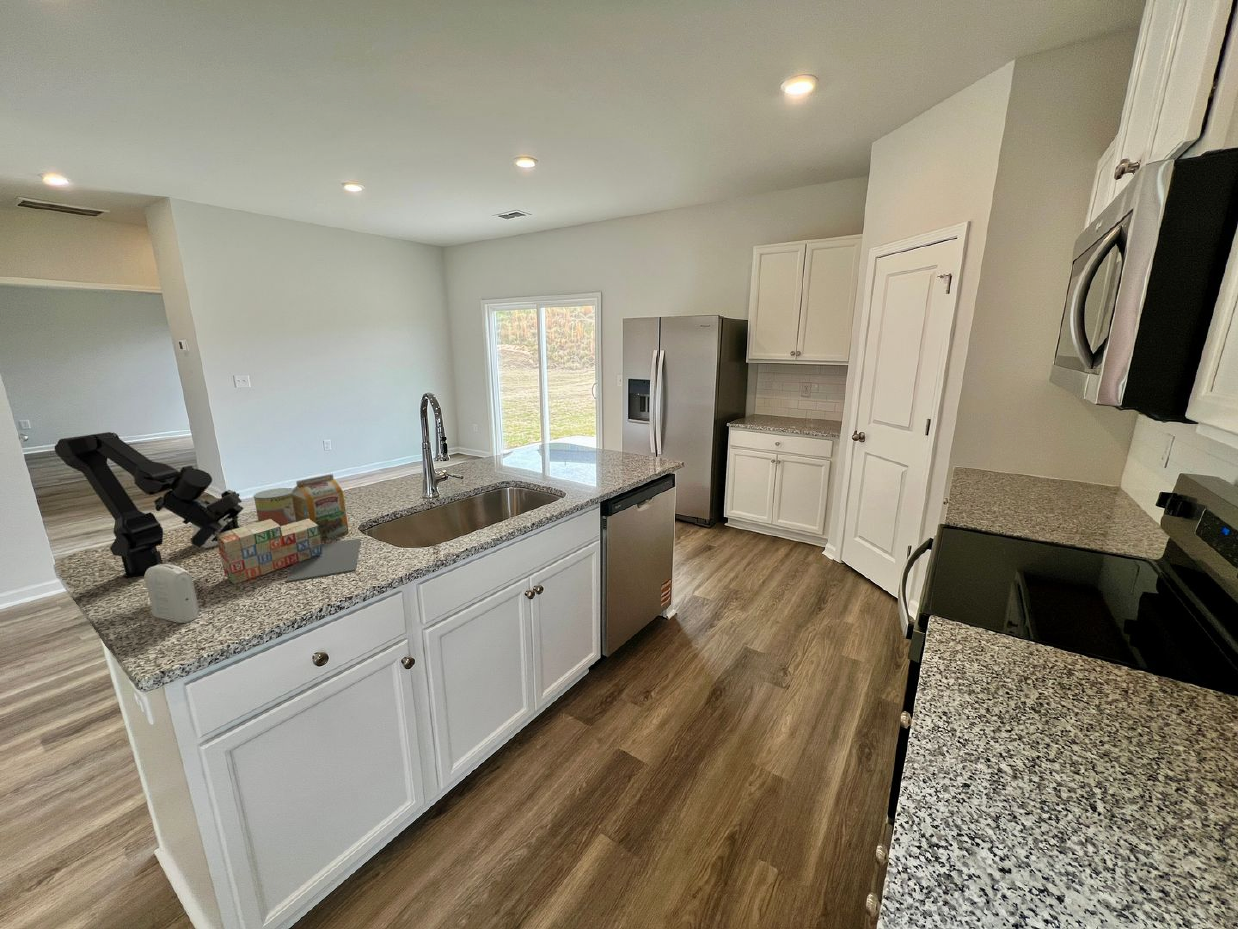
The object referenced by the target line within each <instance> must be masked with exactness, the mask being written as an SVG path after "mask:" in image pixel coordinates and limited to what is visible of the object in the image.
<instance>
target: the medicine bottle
mask: <svg viewBox="0 0 1238 929" xmlns="http://www.w3.org/2000/svg"><path fill="white" fill-rule="evenodd" d="M191 528H192V531H193V536H194V535H195V534H196V533H197V532H198V531H199V530H200V529H201V528H199V527H197V526H195V525H194V524H192V523H191ZM214 537H215V536H213V534H212V535H211V537H210V538H209V539H208V540H207V541H206V542H205V544H204V545H203V546H202V547H201V548H204V549H208V548H211V547H215V546H218V545H219V544H218V541H214V542H213V541H211V540H212V539H213V538H214Z"/></svg>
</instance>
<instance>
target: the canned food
mask: <svg viewBox="0 0 1238 929" xmlns="http://www.w3.org/2000/svg"><path fill="white" fill-rule="evenodd" d="M293 489H294V488H292V487H280V488H279V487H277V488H272V489H266V490H263V491H259V492H257V493H255V494H253V499H254V504H255V510H256V516H257V521H258V522H261V521H265V520H269V519H272V520H273V521H274V522H275V523H277V524H278V525H280V526H284V525H287V524H291V523H294V522H296V518H295V512H294V506H293V500H292V491H293Z"/></svg>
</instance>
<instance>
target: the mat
mask: <svg viewBox="0 0 1238 929" xmlns="http://www.w3.org/2000/svg"><path fill="white" fill-rule="evenodd" d="M360 546H361V538H354V539H348V540H341V541H333V542H327V543H321V547H322V554H320V555H318V556H315V557H311V558H309V559H306V560H303V561H300V562H297V563H294V564H291V567H290V570H289V572H288V575H287V576H286V579H285V583H291V582H296V581H302V580H308V579H315V578H319V577H320V578H321V577H326V576H333V575H339V574H344V573H345V574H346V573H349V572H350V573H351V572H355V571H357V569H358V568H357V567H358V559H359V553H360V548H361V547H360Z"/></svg>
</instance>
